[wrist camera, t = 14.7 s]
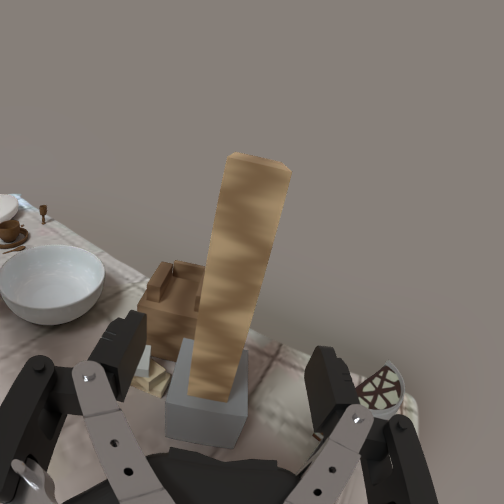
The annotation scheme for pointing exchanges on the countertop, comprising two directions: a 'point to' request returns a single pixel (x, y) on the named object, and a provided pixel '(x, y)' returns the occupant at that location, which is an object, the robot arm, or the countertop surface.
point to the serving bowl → (51, 283)
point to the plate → (7, 207)
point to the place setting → (16, 232)
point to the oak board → (235, 269)
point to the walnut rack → (172, 307)
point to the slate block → (205, 406)
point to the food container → (380, 393)
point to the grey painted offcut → (144, 363)
